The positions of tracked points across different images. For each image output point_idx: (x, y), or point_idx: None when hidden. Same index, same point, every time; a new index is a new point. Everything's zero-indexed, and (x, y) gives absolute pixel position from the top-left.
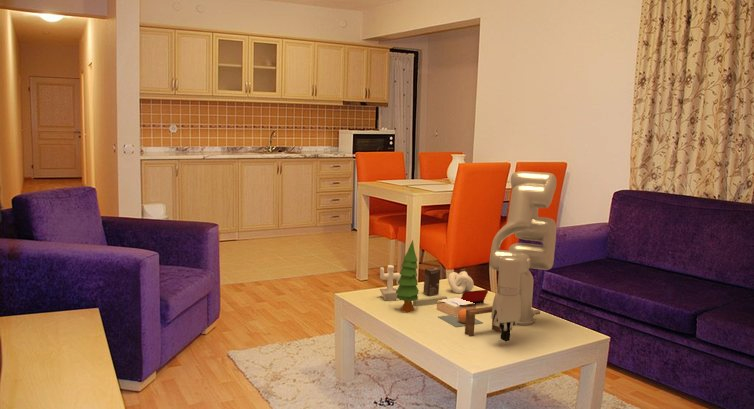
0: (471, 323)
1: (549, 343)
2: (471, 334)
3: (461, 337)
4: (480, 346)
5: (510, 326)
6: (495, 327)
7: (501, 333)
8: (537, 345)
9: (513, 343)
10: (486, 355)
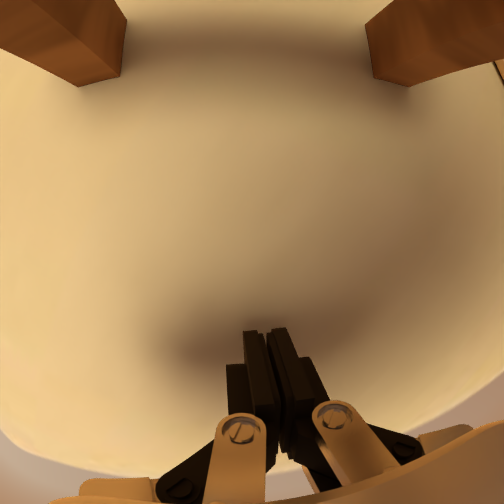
0: (23, 46)
1: (464, 362)
2: (90, 78)
3: (20, 108)
4: (58, 313)
5: (317, 485)
6: (387, 51)
7: (228, 398)
8: (413, 382)
9: (329, 341)
10: (65, 412)
